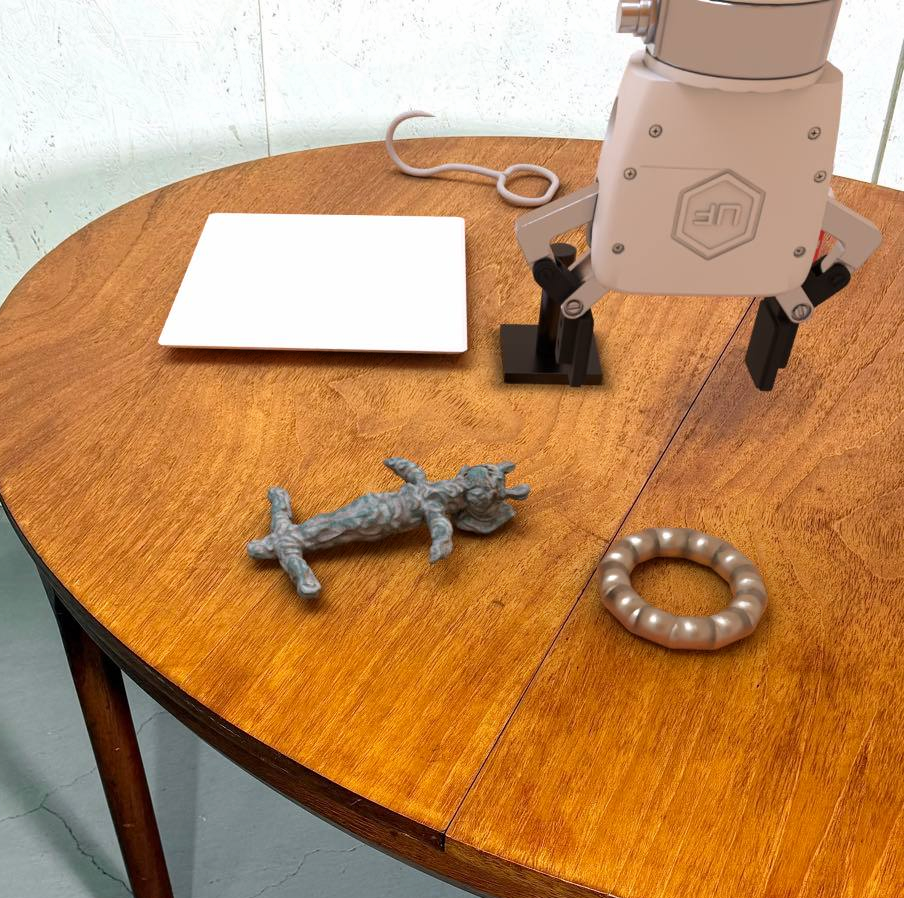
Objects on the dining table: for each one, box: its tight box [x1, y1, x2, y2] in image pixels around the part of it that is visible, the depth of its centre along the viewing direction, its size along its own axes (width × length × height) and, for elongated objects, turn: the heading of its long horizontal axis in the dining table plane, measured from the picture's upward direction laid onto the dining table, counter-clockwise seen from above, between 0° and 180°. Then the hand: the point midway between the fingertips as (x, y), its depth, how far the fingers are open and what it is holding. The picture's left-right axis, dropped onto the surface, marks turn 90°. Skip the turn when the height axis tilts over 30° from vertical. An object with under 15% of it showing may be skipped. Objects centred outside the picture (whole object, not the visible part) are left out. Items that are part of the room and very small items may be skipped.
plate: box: [157, 212, 468, 355], centre depth 99 cm, size 26×26×2 cm
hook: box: [385, 109, 560, 207], centre depth 117 cm, size 7×9×20 cm
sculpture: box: [245, 456, 532, 600], centre depth 72 cm, size 11×20×5 cm, turn 105°
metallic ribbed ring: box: [596, 526, 769, 651], centre depth 68 cm, size 10×10×2 cm
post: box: [499, 242, 604, 385], centre depth 87 cm, size 8×8×10 cm
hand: (665, 375), depth 56 cm, fingers open, 9 cm apart
